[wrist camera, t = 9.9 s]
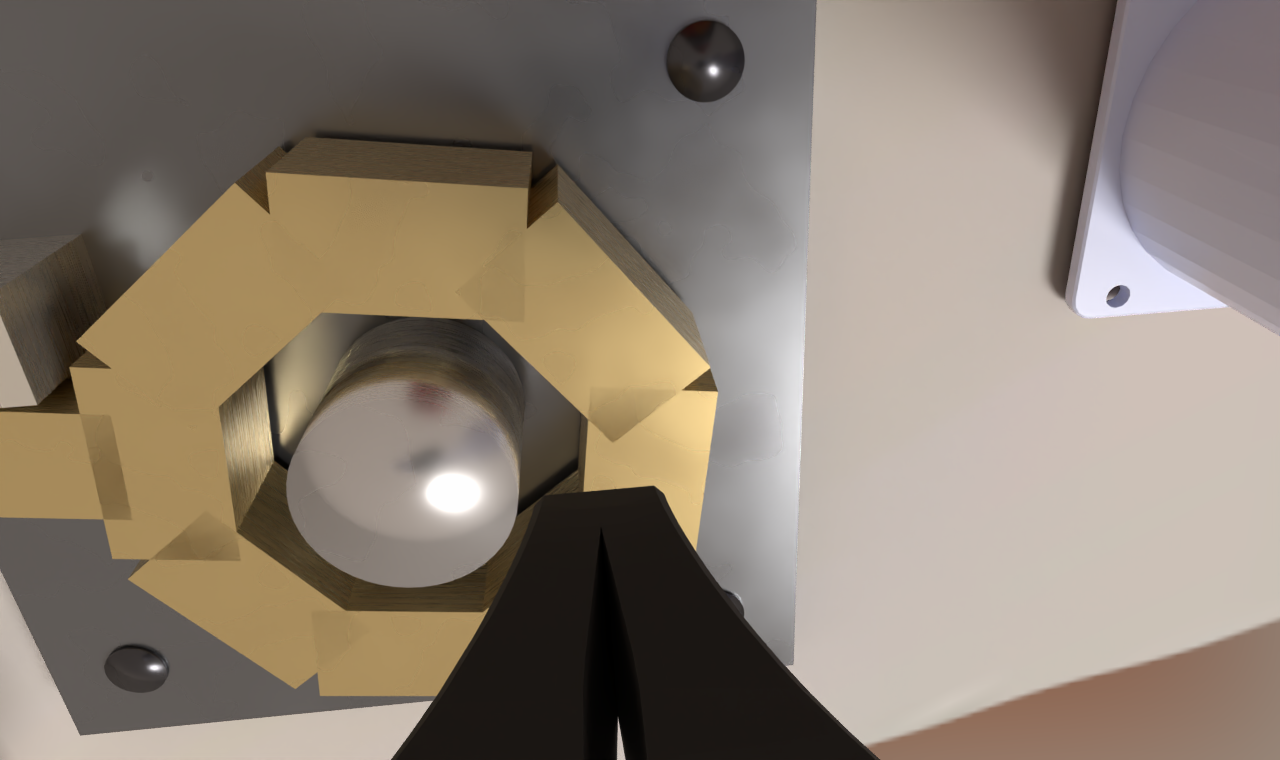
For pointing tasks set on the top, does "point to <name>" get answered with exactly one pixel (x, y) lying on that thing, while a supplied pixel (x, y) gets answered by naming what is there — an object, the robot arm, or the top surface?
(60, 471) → the handled octagonal ring
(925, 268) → the top surface
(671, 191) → the flange plate
